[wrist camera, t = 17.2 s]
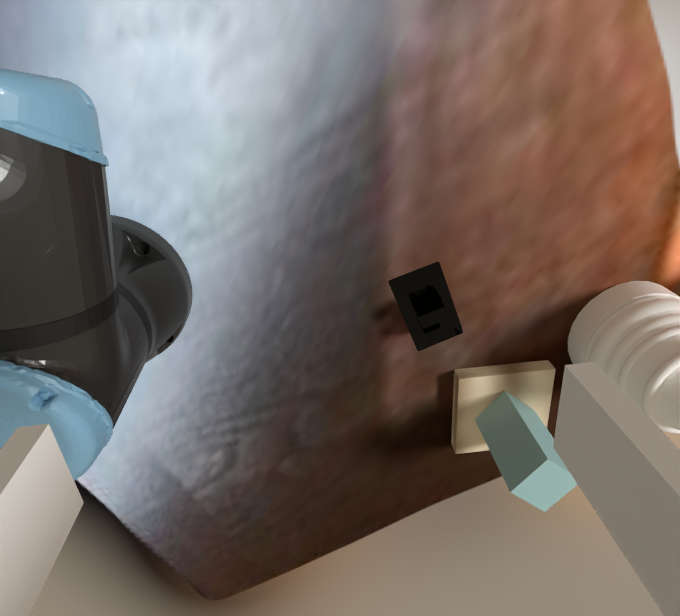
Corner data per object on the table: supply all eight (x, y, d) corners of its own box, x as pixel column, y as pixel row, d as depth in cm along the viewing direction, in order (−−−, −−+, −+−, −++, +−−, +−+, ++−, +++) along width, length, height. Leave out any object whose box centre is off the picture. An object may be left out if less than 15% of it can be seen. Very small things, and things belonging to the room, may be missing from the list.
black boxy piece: (376, 270, 52) (383, 288, 47) (442, 242, 51) (455, 258, 47) (414, 361, 57) (423, 385, 53) (475, 338, 56) (489, 360, 52)
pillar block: (504, 438, 60) (544, 511, 50) (474, 419, 58) (510, 492, 48) (534, 410, 58) (582, 480, 48) (504, 390, 57) (547, 459, 47)
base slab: (449, 439, 63) (455, 453, 60) (452, 366, 58) (459, 378, 56) (535, 430, 63) (544, 444, 61) (545, 357, 58) (555, 369, 56)
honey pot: (659, 258, 53) (816, 345, 37) (693, 341, 58) (844, 449, 42) (549, 322, 55) (652, 430, 39) (591, 397, 61) (697, 518, 45)
